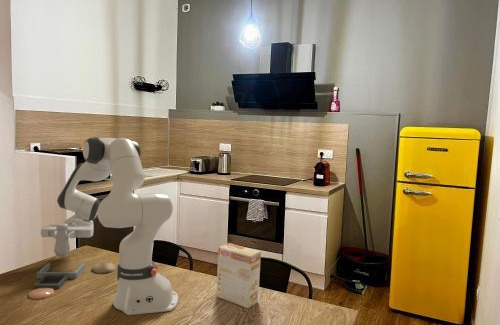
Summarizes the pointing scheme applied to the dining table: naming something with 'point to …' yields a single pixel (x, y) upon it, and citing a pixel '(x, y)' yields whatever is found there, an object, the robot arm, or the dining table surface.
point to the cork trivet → (104, 268)
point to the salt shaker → (61, 241)
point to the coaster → (41, 293)
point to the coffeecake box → (238, 274)
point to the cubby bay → (70, 274)
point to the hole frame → (51, 281)
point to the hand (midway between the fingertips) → (61, 236)
